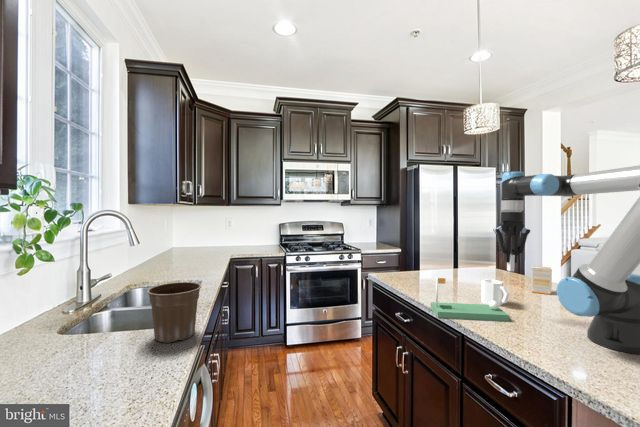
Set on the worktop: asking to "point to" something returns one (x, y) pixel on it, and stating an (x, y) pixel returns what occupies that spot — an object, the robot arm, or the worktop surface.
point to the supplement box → (541, 279)
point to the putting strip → (466, 309)
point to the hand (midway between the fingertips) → (510, 270)
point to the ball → (493, 305)
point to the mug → (493, 292)
